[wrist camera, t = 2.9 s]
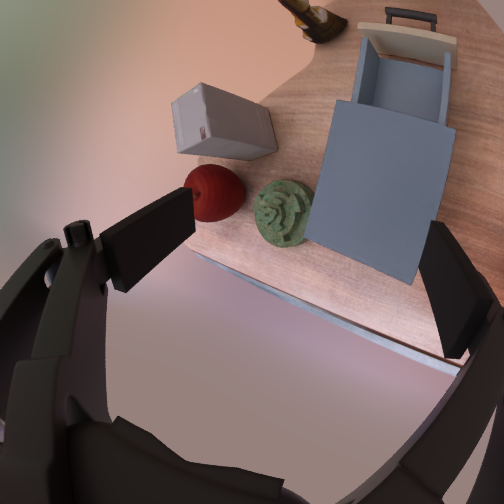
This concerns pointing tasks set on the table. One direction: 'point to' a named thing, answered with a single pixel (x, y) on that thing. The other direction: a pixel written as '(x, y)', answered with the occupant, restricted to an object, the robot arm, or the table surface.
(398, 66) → the drawer
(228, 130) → the cosmetic box
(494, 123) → the table surface
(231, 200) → the apple
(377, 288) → the table surface
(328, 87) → the table surface
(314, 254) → the table surface
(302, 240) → the decorative artifact
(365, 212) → the cabinet
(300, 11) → the figurine
